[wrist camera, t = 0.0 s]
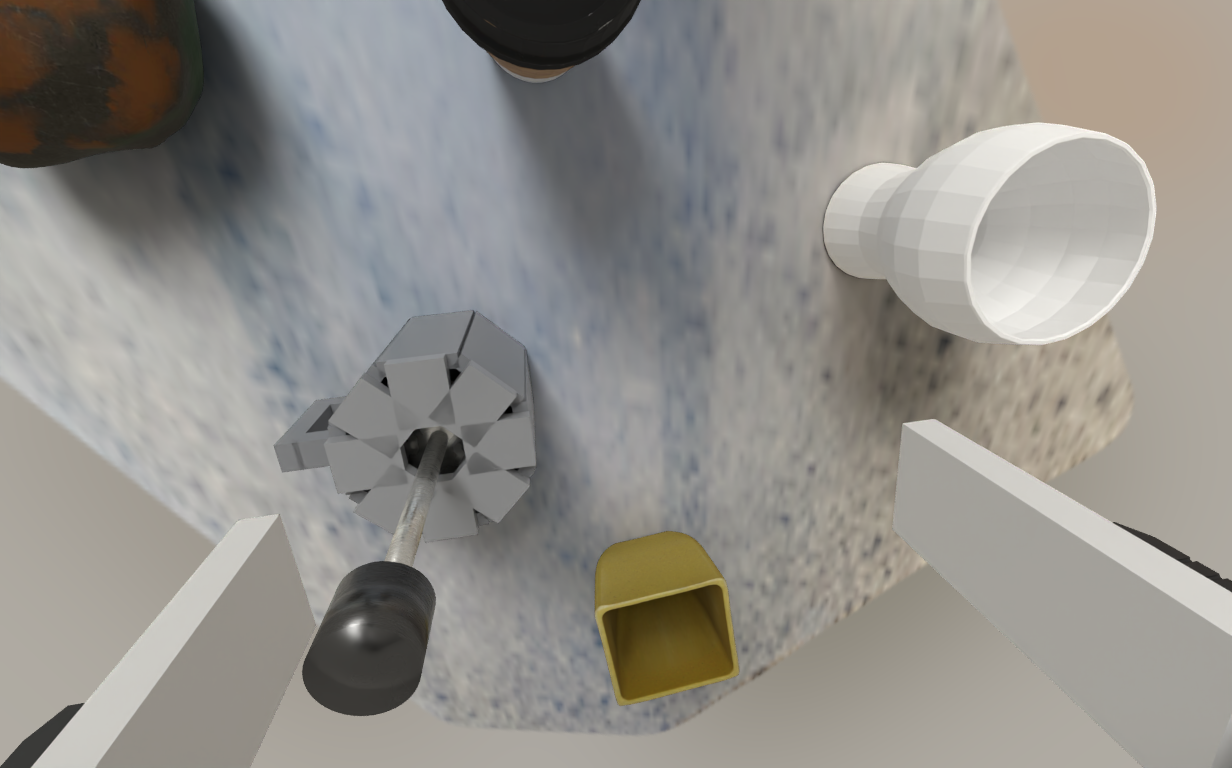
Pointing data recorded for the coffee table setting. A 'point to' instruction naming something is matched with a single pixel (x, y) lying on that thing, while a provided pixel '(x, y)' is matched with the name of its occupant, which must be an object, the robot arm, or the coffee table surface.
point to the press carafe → (428, 425)
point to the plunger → (384, 604)
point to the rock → (94, 76)
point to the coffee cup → (541, 31)
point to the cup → (1001, 231)
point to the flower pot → (663, 617)
